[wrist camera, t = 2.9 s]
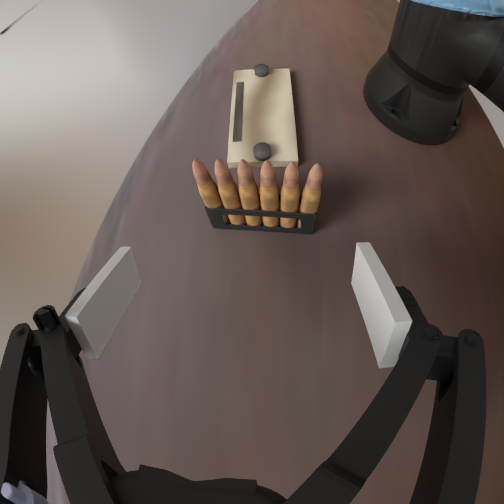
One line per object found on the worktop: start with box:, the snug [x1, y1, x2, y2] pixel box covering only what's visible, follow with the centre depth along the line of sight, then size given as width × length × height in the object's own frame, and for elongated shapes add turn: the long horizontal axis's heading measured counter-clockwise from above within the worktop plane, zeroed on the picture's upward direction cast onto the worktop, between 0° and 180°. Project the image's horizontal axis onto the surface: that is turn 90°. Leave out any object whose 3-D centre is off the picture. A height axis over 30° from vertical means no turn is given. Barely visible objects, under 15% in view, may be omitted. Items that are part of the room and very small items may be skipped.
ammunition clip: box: [193, 159, 323, 234], centre depth 26 cm, size 11×2×12 cm, turn 85°
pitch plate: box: [227, 64, 298, 168], centre depth 35 cm, size 8×17×2 cm, turn 179°
